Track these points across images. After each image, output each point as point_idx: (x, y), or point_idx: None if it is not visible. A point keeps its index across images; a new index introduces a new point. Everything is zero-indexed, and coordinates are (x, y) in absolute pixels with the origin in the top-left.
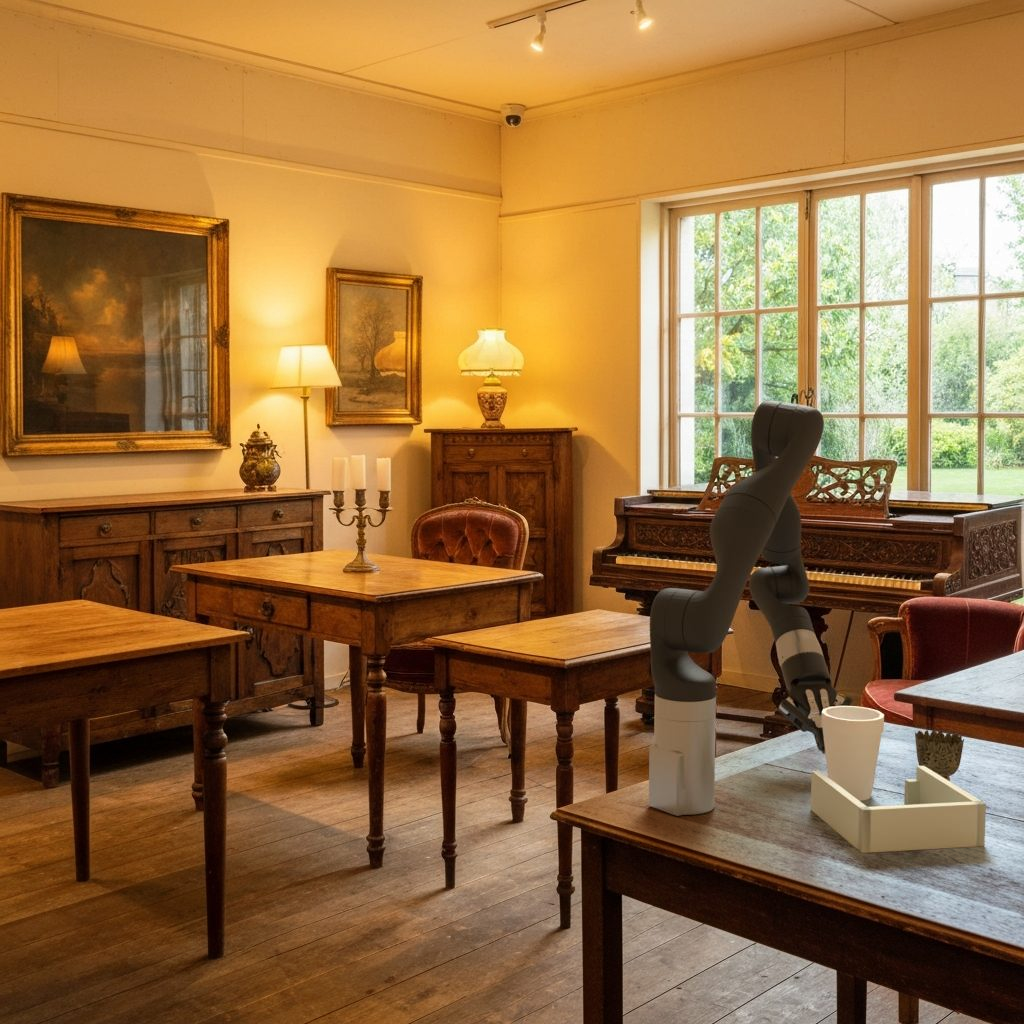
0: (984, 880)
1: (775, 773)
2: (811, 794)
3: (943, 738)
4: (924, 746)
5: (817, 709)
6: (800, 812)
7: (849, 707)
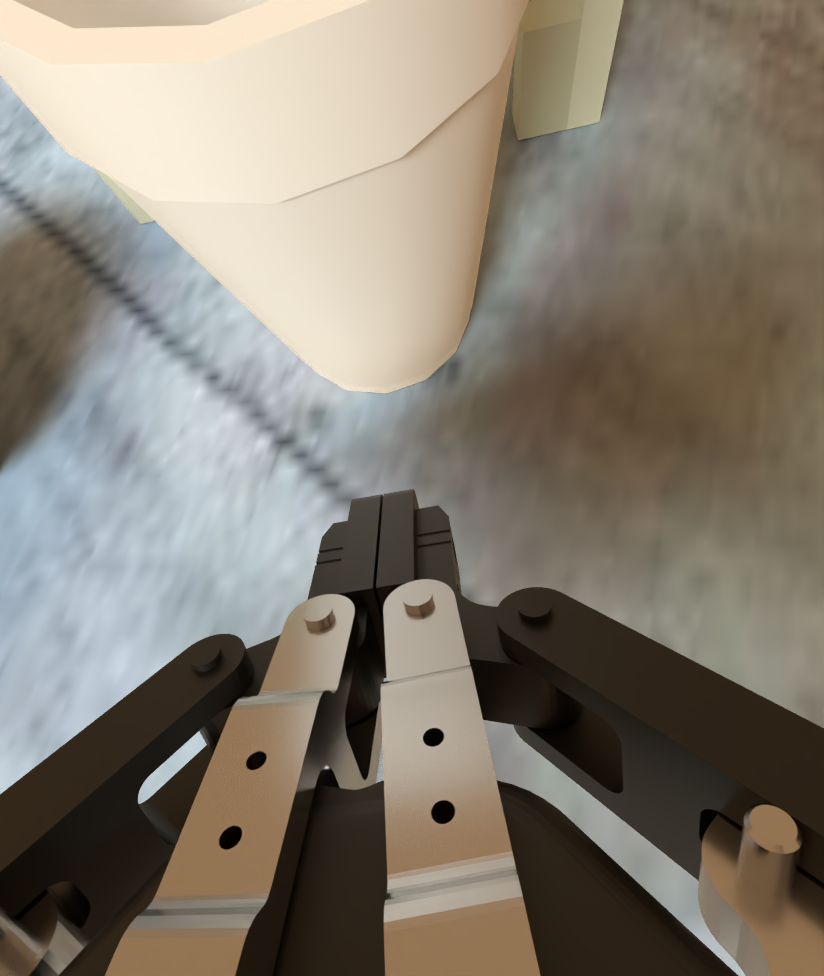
0: None
1: (700, 632)
2: (610, 58)
3: None
4: None
5: (394, 713)
6: (647, 93)
7: (141, 29)
